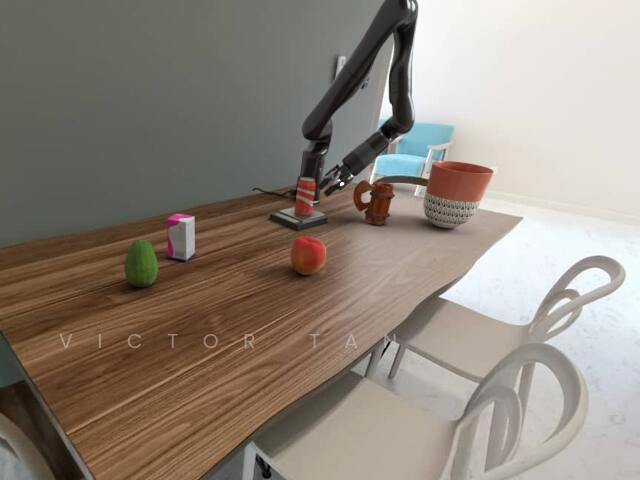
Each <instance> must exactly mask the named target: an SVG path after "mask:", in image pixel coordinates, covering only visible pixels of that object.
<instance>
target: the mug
mask: <svg viewBox="0 0 640 480" xmlns="http://www.w3.org/2000/svg"><path fill="white" fill-rule="evenodd" d="M394 188H395V185H394V184H393V183H390V182H386V183H385V182H381V181H379V182H375V184H371V183H370V182H369V181H368V180H367V179H363V180H361V181H360V182H358V183H357V184H356V186H355V187H354V189H353V194H352V195H353V196H352V199H353V203H354V206H355V208H356V210H358V212H363V213H364V215H365V216H364V220H365V221H366V222H368V223H370V224H372V225H376V226H380V225H383V224H385V223H386V222H387V220H388V218H390V217H391V214H390V213H389V210H390V208H391V207H390V206H391V203H392V200H393V198H395V196H396V194H395V193H394ZM369 191H370V192H369ZM367 192H369V195H370V201H367V202H364V201H362V195H363V194H365V193H367Z"/></svg>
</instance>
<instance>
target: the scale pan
mask: <svg viewBox="0 0 640 480" xmlns="http://www.w3.org/2000/svg"><path fill="white" fill-rule="evenodd" d="M278 212H279V213H281V214H283V215H286V216H288V217H291V218H293V219H296V220H298V221H301V222H307V221H310V220H314V219H318V218H322V217H325V216H326V214H325V213H322V212H320V211H317V210H316V209H315V210H314V209H312V212H311V213H309V214H307V215H302V214H298V213H297V212H296V211H295V206H293V207H289V208H285V209H280V210H278Z"/></svg>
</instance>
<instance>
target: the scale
mask: <svg viewBox="0 0 640 480" xmlns="http://www.w3.org/2000/svg"><path fill="white" fill-rule="evenodd" d="M269 220H271V221H273V222H276V223H278V224H280V225H283V226H285V227H287V228H290V229H293V230H295V231H298V232H299V231H302V230H305V229H308V228H313V227H317V226H320V225H323V224H327V223H328V221H329V216H326V215H325V217H322V218H318V219H314V220H310V221H307V222H301V221H298V220H296V219H293V218H291V217H288V216H286V215H283V214H281V213H279V211H275V212H272V213H271V212H270V213H269Z"/></svg>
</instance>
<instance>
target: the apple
mask: <svg viewBox="0 0 640 480" xmlns="http://www.w3.org/2000/svg"><path fill="white" fill-rule="evenodd" d="M326 258H327V248H326V246H325V244H324V243H323V242H322V240H320V239H317V238H315V237H312V236H306V235H305V236H299V237H297V238H295V239H294V241H293V242H292V245H291V248H290V262H291V265H292V267H293V269H294V270H295V272H297V273H299V274H300V275H303V276H310V275H312V274H315V273H317V272H318V271H319V270H321V268H322V267H324V264H325V262H326Z"/></svg>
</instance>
